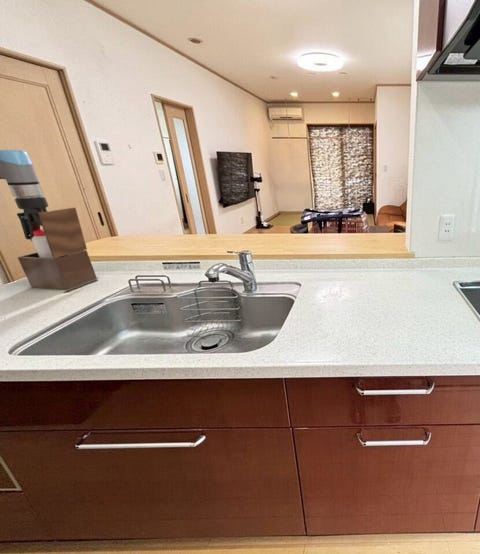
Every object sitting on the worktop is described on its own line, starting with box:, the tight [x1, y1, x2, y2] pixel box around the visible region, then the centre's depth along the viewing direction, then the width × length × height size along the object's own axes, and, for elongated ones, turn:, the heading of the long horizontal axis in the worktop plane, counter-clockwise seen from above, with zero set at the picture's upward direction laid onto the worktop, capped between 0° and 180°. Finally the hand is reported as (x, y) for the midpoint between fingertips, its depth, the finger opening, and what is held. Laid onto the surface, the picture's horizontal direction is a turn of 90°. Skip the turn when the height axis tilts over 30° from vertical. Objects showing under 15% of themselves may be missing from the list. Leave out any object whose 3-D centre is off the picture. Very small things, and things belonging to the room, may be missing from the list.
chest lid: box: [38, 207, 88, 258], centre depth 109 cm, size 16×12×1 cm
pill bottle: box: [30, 228, 59, 259], centre depth 111 cm, size 8×8×11 cm
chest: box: [17, 249, 99, 293], centre depth 115 cm, size 16×12×13 cm
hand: (54, 257), depth 113 cm, fingers closed on pill bottle, 8 cm apart
